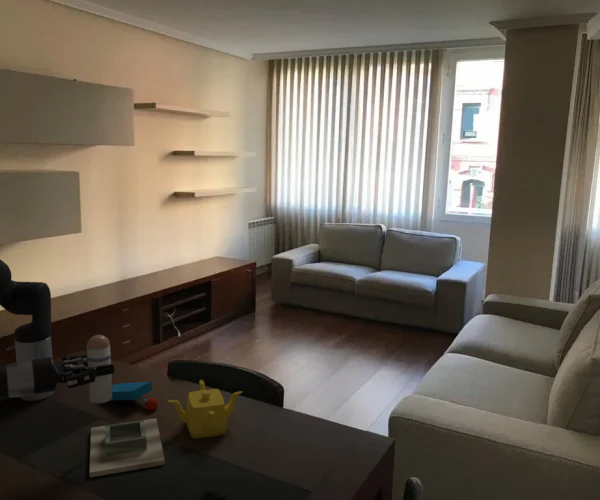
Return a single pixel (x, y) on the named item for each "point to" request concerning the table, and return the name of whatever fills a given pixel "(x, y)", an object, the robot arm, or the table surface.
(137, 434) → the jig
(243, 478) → the table surface
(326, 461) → the table surface
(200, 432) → the teapot
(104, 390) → the brown-capped white canister
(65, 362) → the robot arm
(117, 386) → the lever
